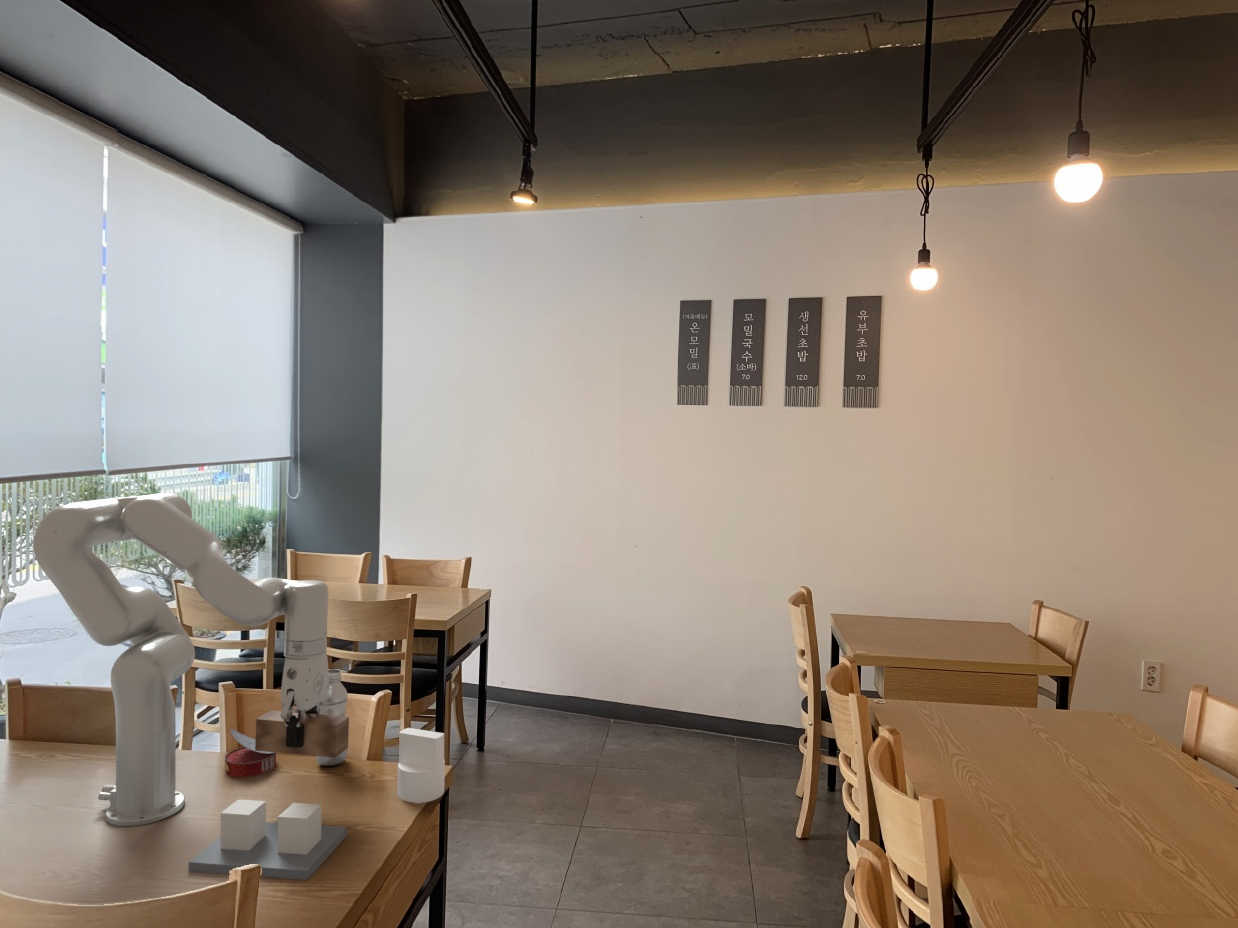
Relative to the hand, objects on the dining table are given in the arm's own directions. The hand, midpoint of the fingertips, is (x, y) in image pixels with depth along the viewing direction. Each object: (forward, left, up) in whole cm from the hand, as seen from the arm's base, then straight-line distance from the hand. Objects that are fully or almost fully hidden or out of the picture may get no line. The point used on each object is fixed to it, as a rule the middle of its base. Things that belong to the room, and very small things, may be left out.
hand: (302, 739), depth 146 cm
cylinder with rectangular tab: (+21, +8, -13) cm, 26 cm away
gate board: (+4, -17, -13) cm, 21 cm away
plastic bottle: (-3, +19, -13) cm, 23 cm away
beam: (0, 0, -2) cm, 2 cm away
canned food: (-19, +15, -13) cm, 28 cm away
